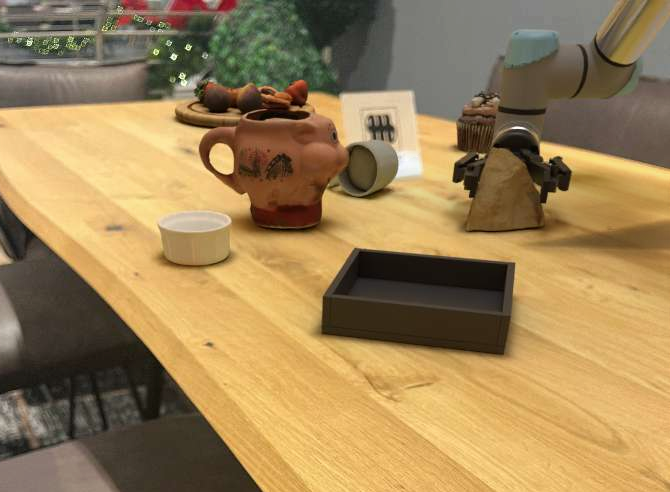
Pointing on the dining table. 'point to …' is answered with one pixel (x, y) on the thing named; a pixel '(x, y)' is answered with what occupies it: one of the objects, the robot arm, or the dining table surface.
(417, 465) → the dining table surface
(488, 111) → the cupcake
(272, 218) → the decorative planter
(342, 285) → the tray
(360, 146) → the ceramic mug
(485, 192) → the rock
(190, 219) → the ramekin
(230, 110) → the wooden plate
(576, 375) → the dining table surface
